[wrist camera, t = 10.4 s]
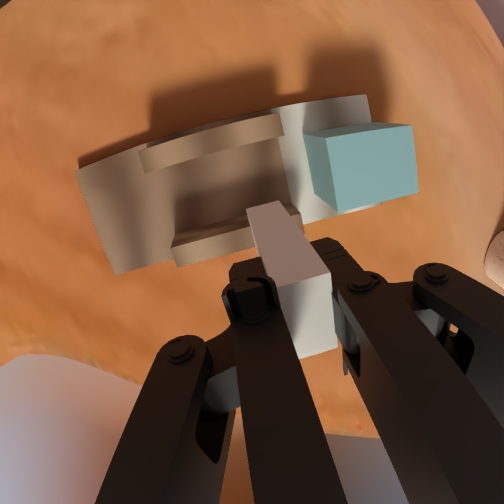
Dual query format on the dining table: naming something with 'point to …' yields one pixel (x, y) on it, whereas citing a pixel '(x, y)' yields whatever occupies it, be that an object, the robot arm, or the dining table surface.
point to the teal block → (362, 164)
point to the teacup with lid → (496, 260)
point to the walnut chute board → (210, 184)
